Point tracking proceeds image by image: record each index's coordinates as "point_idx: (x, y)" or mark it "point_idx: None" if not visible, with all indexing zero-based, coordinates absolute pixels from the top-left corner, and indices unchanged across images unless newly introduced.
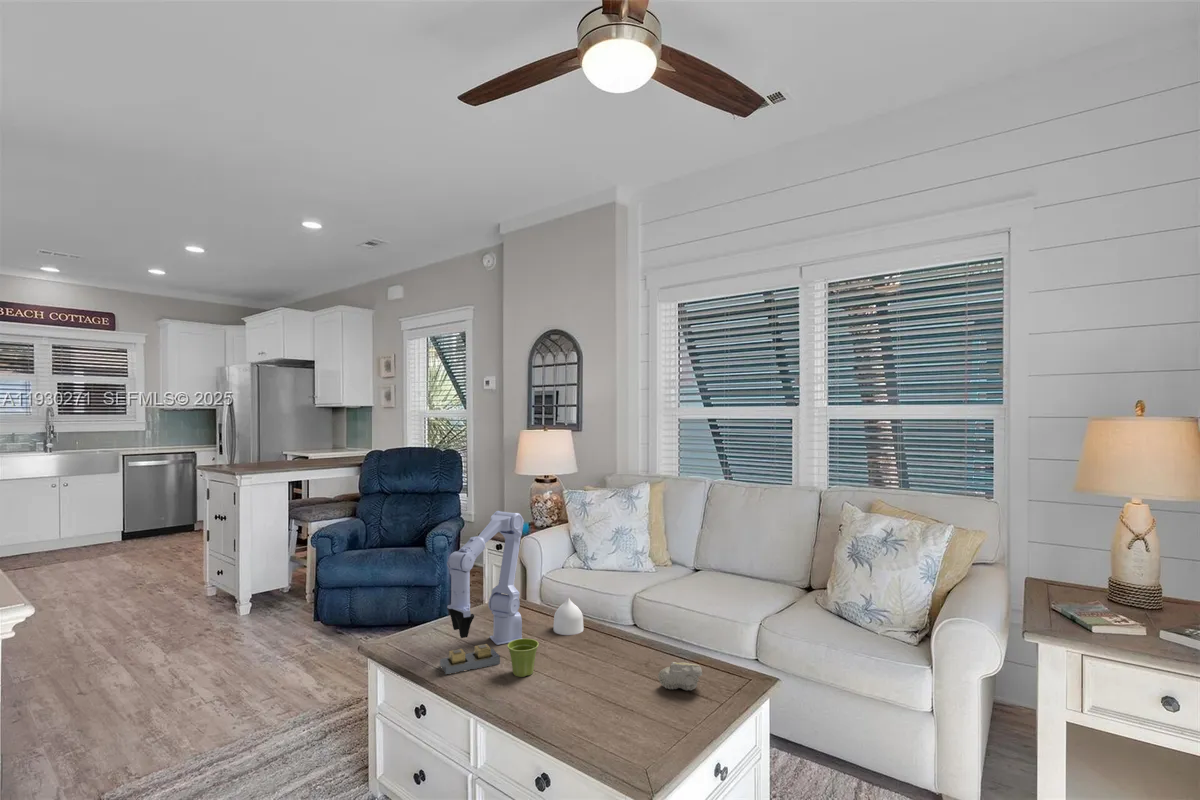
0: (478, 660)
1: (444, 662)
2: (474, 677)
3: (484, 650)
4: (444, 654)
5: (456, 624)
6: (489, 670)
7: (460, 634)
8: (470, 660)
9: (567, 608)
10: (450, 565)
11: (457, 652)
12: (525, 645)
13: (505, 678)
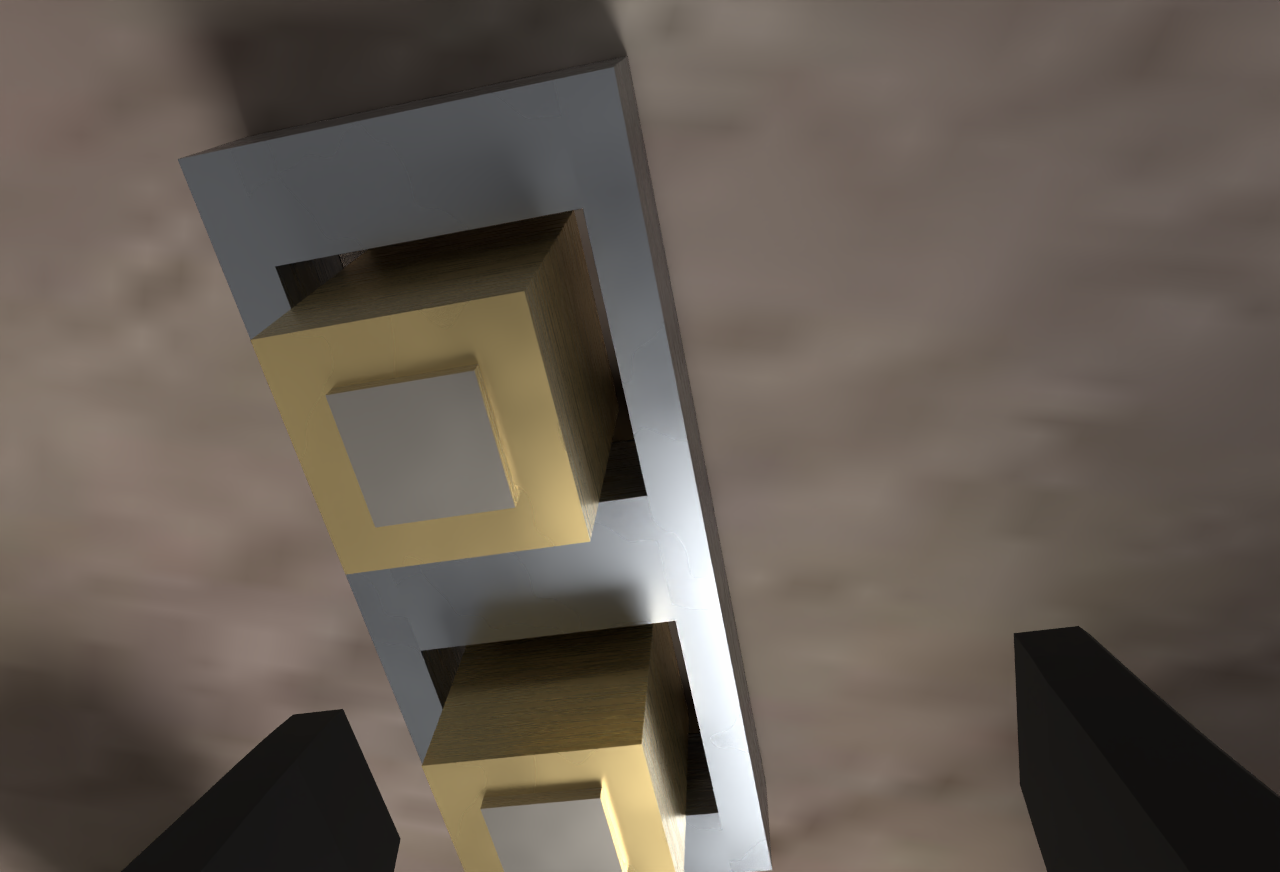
0: (392, 662)
1: (410, 146)
2: (150, 512)
3: (458, 826)
4: (1172, 173)
5: (1080, 828)
6: (337, 690)
7: (212, 787)
8: (416, 567)
9: None
10: None
11: (354, 452)
12: None
13: (104, 789)
